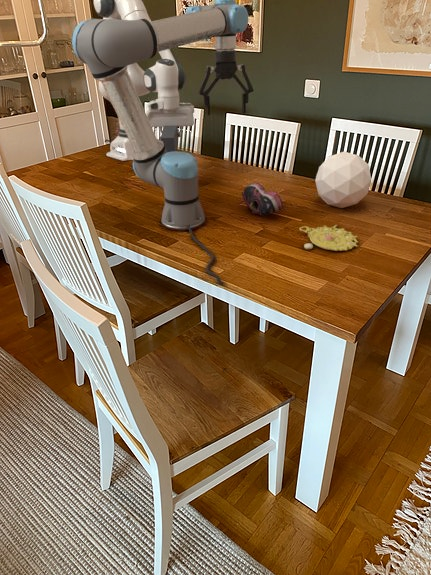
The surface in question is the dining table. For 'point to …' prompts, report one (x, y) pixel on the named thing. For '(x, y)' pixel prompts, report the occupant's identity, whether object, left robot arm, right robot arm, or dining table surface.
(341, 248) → the decorative object
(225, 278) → the dining table surface
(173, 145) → the bar
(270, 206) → the athletic shoe
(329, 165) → the sphere
